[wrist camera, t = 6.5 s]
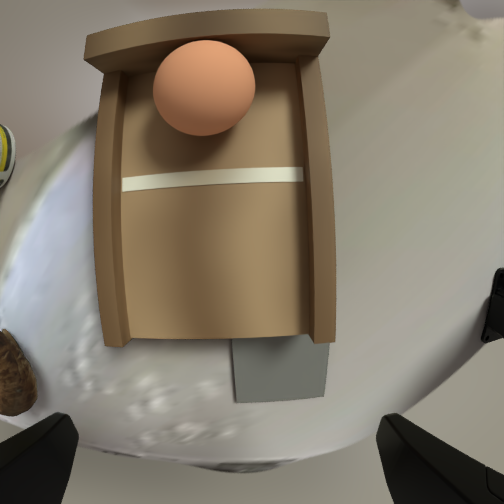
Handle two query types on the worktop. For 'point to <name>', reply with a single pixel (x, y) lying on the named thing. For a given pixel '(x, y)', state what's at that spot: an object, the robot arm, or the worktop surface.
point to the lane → (215, 188)
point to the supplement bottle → (6, 153)
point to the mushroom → (15, 378)
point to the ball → (204, 88)
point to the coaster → (279, 368)
